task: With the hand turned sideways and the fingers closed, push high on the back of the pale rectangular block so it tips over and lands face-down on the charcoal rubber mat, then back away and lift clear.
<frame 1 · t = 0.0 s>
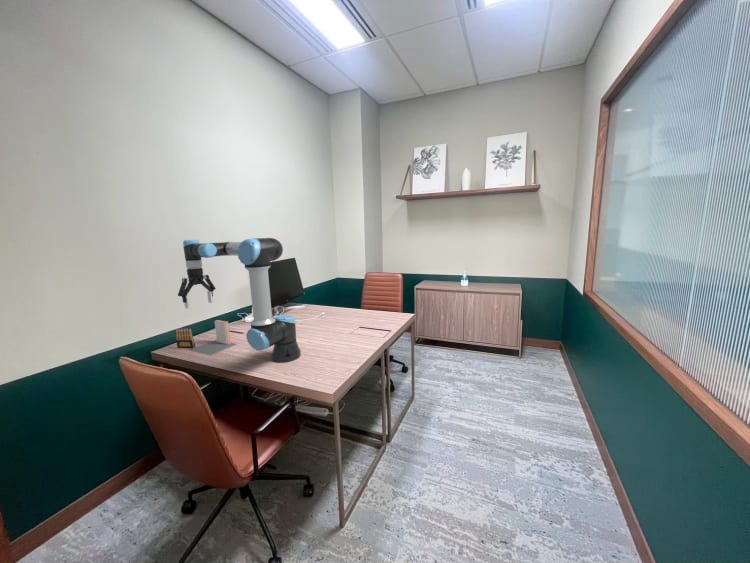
hand: (199, 305, 166), 28 cm above the table, tool pointing down, fingers open, 13 cm apart
rubber mat: (213, 347, 177), on the table
ammunition clip: (186, 348, 177), on the table, touching rubber mat
pale rectangular block: (223, 342, 183), resting on rubber mat
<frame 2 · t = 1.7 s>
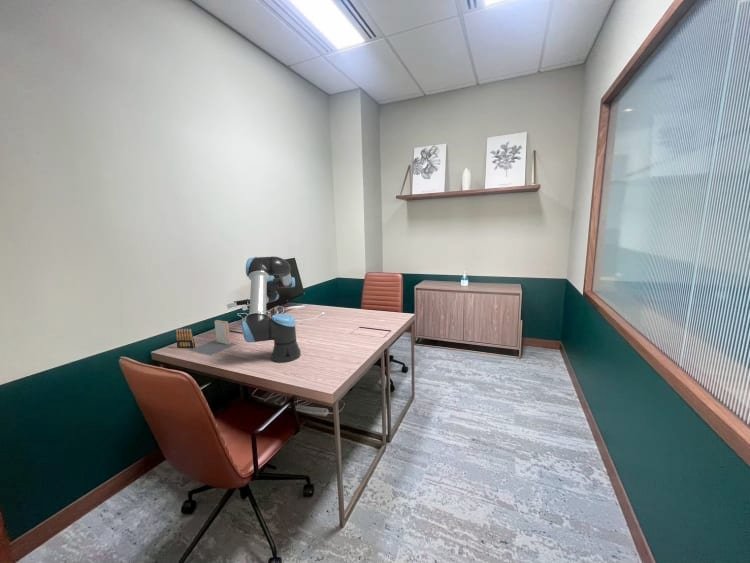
hand: (235, 307, 189), 20 cm above the table, tool horizontal, fingers open, 13 cm apart
nothing on the table moved.
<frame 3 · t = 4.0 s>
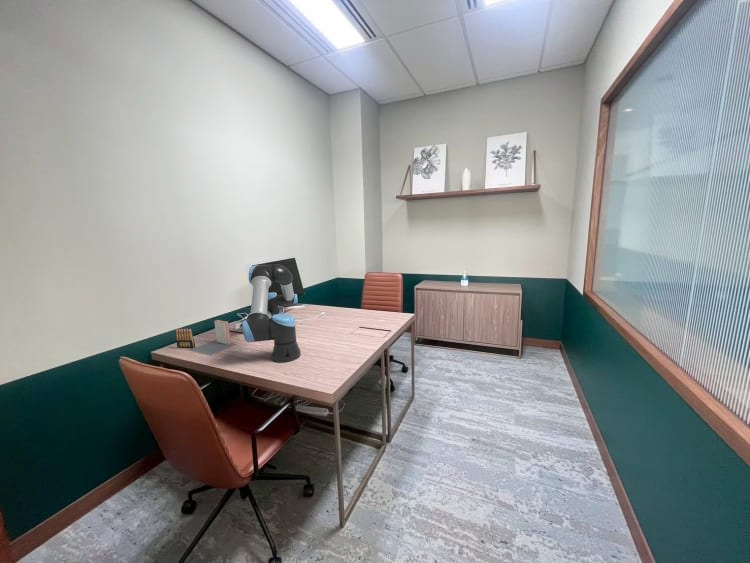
hand: (234, 326, 190), 8 cm above the table, tool horizontal, fingers closed
nothing on the table moved.
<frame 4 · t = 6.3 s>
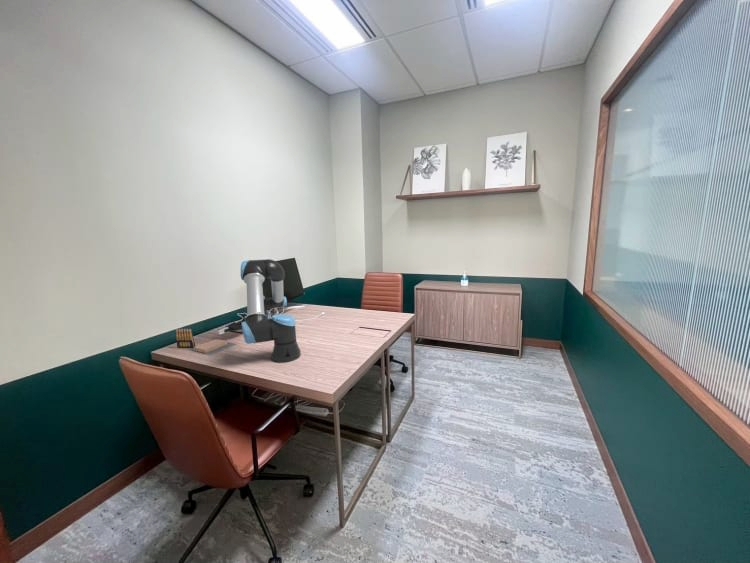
hand: (218, 332, 180), 8 cm above the table, tool horizontal, fingers closed
pale rectangular block: (221, 341, 182), point 2 cm above the table, tilted 90°, touching rubber mat
everything else where it was.
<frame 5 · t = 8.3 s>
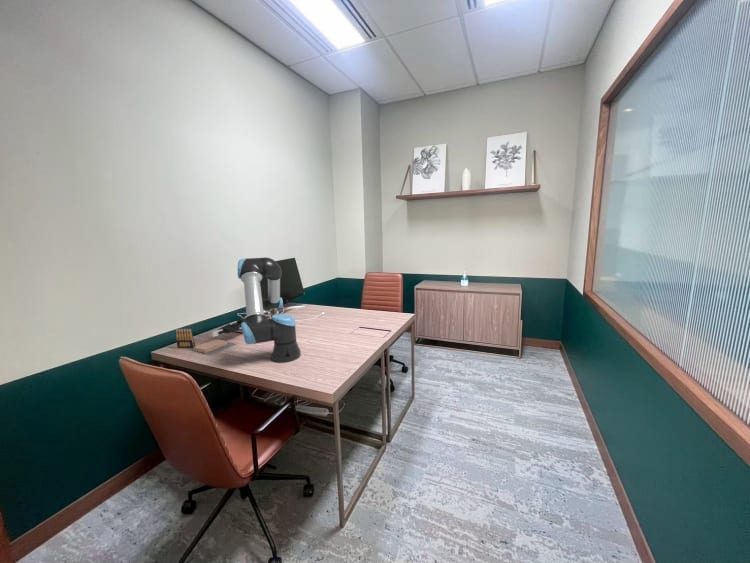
hand: (212, 334, 176), 8 cm above the table, tool horizontal, fingers closed
nothing on the table moved.
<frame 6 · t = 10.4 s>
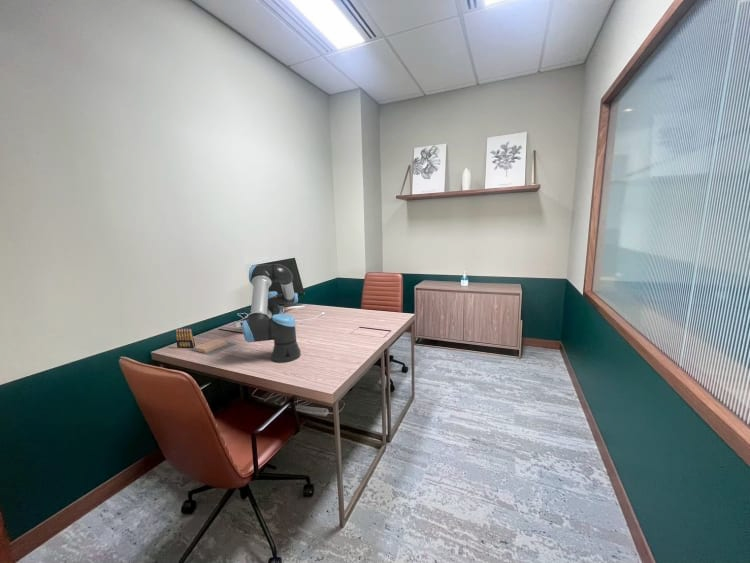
hand: (235, 325, 190), 9 cm above the table, tool horizontal, fingers closed
nothing on the table moved.
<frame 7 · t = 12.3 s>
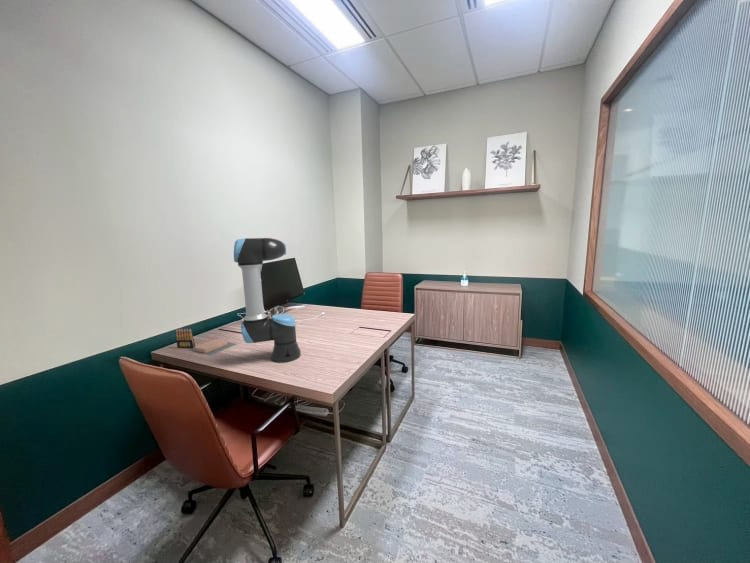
hand: (248, 305, 180), 24 cm above the table, tool tilted 35°, fingers closed
nothing on the table moved.
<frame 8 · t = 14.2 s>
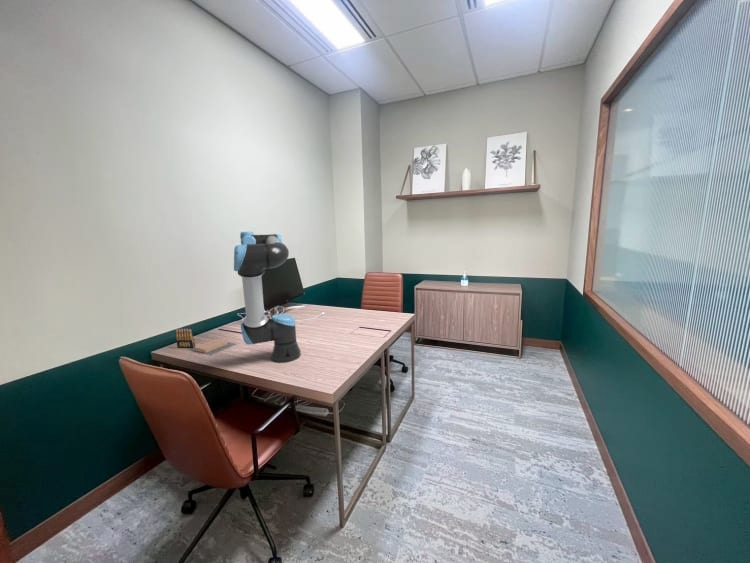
hand: (253, 295, 182), 29 cm above the table, tool pointing down, fingers closed
nothing on the table moved.
at the end: pale rectangular block tilted 90°; pale rectangular block inside the target area (0.2 cm from its centre), point 1.7 cm above the table; pale rectangular block touching rubber mat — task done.
